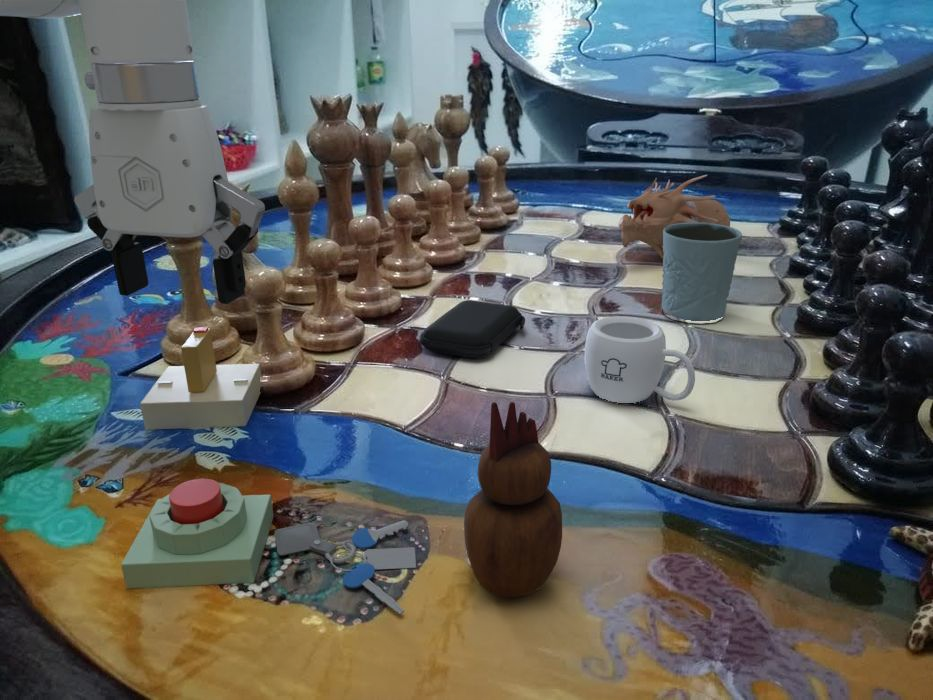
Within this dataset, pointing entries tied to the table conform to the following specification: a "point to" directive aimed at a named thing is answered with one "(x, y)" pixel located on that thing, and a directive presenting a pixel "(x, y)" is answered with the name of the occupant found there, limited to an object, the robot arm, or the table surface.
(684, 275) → the embossed teal cup
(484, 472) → the wooden figurine
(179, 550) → the box
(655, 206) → the dragon head statue
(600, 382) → the mug
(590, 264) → the table surface
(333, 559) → the key chain
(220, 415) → the plate
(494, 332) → the carrying case
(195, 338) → the tan block
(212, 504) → the release button
